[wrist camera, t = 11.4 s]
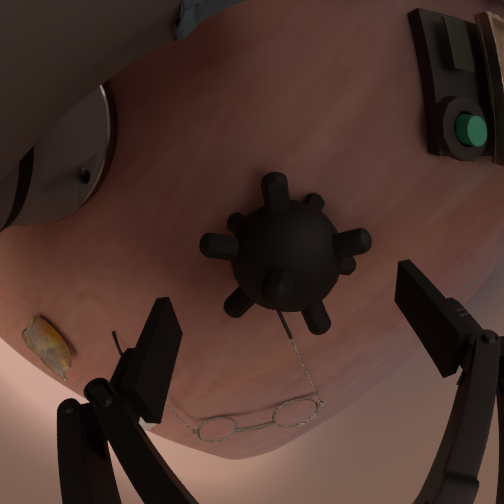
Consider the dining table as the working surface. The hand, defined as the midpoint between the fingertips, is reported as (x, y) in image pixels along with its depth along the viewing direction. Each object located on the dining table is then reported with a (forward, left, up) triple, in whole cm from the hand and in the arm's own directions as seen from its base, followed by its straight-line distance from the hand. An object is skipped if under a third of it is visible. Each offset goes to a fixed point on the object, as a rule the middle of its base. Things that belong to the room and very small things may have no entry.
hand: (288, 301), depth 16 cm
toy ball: (+1, +1, -9) cm, 9 cm away
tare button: (+16, +8, -6) cm, 19 cm away
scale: (+24, +12, -9) cm, 28 cm away
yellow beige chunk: (-28, -8, -10) cm, 30 cm away
